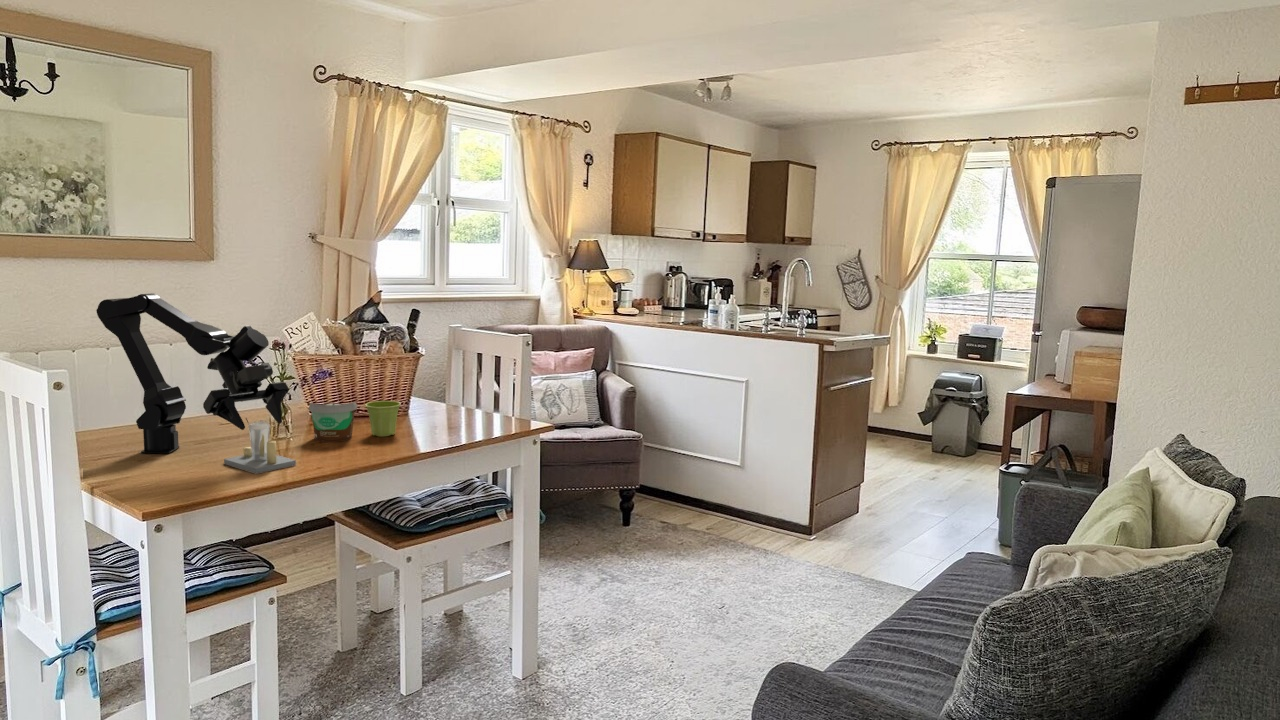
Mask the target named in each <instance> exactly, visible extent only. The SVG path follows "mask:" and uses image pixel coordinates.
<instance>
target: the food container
mask: <svg viewBox="0 0 1280 720" xmlns="http://www.w3.org/2000/svg"><path fill="white" fill-rule="evenodd" d="M357 409H358V405H357V403H356V401H353V402H350V403H345V404H343V403H335V402H331V403H324V404H317V403H313V402H310V403H309V407H308V411H309V412H311V418H312V425H313V433H314V439H315V441H317V442H318V441H319V442H323V443H324V442H326V443H334V442H335V443H336V442H343V441H349V440H350V439H352V438H353V428H354V418H355V410H357Z"/></svg>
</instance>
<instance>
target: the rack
mask: <svg viewBox="0 0 1280 720" xmlns="http://www.w3.org/2000/svg"><path fill="white" fill-rule="evenodd" d="M223 464H224V465H226V466H230V467H233V468H236V469H239V470H241V471H246V472H249V473H251V474H255V475H258V474H262V473H266V472H271V471H276V470H279V469H285V468H290V467H294V466H296V465H297V461H296V459H292V458H288V457H285V456H282V455H279V454H277V441H276V440H269V441H268V442H267V460H265V461H253V460H252V450H251V446H247V447H243V454H242V455H237V456H231V457H227V458H224V459H223Z"/></svg>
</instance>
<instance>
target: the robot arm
mask: <svg viewBox="0 0 1280 720" xmlns="http://www.w3.org/2000/svg"><path fill="white" fill-rule="evenodd" d="M95 311H96V315H97V318H98V319H99V321H100V322H101V323H102V324H103V326H104V327H105V328H106V330H108V331H109V332H110V333H112V334H113V335H114V336H116V338H117V339H118V341H119V342H120V344H121V347H122V348H123V349H122V350H124V352H125V354H126V357H127V358H128V361H129V363H130V365H131V367H132V369H133V371H134V373H135V376H136V377H137V379H138V380H139V383H140V385H141V387H142V388H143V400H142V405H143V407H144V410H145V411H144V412H142V414H141V415H139V417H138V418H137V419H136V420H135V422H136V426H137V428H138V429H139V430H142V435H143V436H142V437H143V450H140V453H141V454H171V453H172V452H175V450H177V449H178V448H179V449H180V444H179V431H178V430H176V429H177V428H176V424H180V422H181V421H182V417H183V415H184V414H185V412H186V409H187V405H186V403H185V402H186V401H187V399H186V398H185V397H184V395H183V394H182V392H181V388H180V387H179V386H178V385H175V386H171V385H169V384H168V382H166V380H165V378H164V376H163V374H162V372H161V370H160V368H159V366H158V364H157V361H156V360H155V358H154V356H153V354H152V351H151V350H150V348H149V346H148V344H147V342H146V339H145V337H144V336H143V333H142V331H141V320H142V317H141V314H142V315H143V314H148V315H149V317H152V318H153V319H155V320H156V321H159V322H160V323H162V324H163V325H165V326H166V327H168V328H169V329H171V330H173V331H174V332H175V333H178V334H179V335H181V336H182V337H183V338H184V339H185V341H186V343H187V345H188V346H189V347H190V348H191V349H193V350H194V351H195V352H196V353H197V354H199V355H201V356H209V355H215V354H217V355H216V356H215V357H214V358H213V357H211V358H210V361H209V362H208V364H207V367H206V368H207V369H208V370H212V371H218V372H219V375H220V376H221V378H222V380H223V383H222V388H221V389H212V390H210V391H209V393H208V395H207V397H206V398H205V400H204V402H203V403H202V405H203V410H204V411H205V413H206V414H207V415H210V414H212V415H213V416H218V417H219V418H220V419H221V418H222V419H224V420H225V421H227V422H229V423H230V424H232V425H233V426H235V427H236V428H239V430H241V431H243V430H245V429H246V426H245V422H244V421H243V418H242V417H241V415H240V413H239V411H238V410H237V408H236V404H235V403H238V402H239V403H240V402H241V403H243V402H249V401H258V400H262V402H263V404H266V405H265V408H266V410H267V411H268V413H270V415H271V416H272V418H273V419H274V421H276V423H277V424H279V425H280V424H282V421H283V417H282V416H283V415H282V401H283V400H284V399H285V397H286V395H287V394H288V393H289V391H290V388H289V386H288V384H287V383H286V382H285V381H279V382H270V383H268V385H267V387H266V388H265V389H261V390H259V389H258V388H260V387H262V385H263V383H262V381H265V380H267V379H268V378H270V377H271V376H272V375H273V374H274V370H273V368H272V366H271V364H270V362H262V363H260V364H259V365H258V364H257V365H249V366H246V365H245V363H244V362H251V361H253V360H254V359H256V358H257V357H258V355H260V354H261V353H262V351H264V350H265V349H267V347H269V345H270V344H269V343H270V342H269V340H268V338H267V336H266V335H265V334H263V333H262V332H260V331H258V330H257V329H254V328H252V326H251V325H245V326H243V327H242V328H241V329H240V331H239V332H238V333H237V334H235V336H233V335H230V334H228V332H226V331H225V330H223V329H221V328H219V327H217V326H216V327H215V326H213V325H210V324H207V323H203V322H199V321H197V320H195V319H194V318H192V317H191V316H189V315H188V314H186V313H185V312H182V311H181V310H179V308H177V307H175V306H174V305H172V304H170V303H168V302H167V301H165V300H164V299H162V298H161V296H159V295H158V294H156V293H152V292H151V293H140V294H138V295H135V296H131V297H119V298H109V299H103V300H101V301H100V302H99V304H98V305H97V308H96V310H95ZM237 371H238V372H237Z"/></svg>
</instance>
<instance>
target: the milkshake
mask: <svg viewBox="0 0 1280 720" xmlns="http://www.w3.org/2000/svg"><path fill="white" fill-rule="evenodd" d="M245 420H246V423H247V424H248V431H249V439H250V447H251V450H252V460H253V461H265V460H267V442H268V441H270V439H269V438H270V433H271V432H270V431H271V424H270V423H269V422H267V421H266V420H265V421H264V420H258V421H254V422H252V423H249V420H248V418H247V417H245Z"/></svg>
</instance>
